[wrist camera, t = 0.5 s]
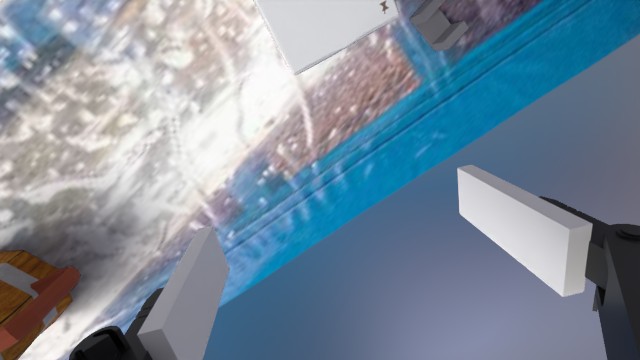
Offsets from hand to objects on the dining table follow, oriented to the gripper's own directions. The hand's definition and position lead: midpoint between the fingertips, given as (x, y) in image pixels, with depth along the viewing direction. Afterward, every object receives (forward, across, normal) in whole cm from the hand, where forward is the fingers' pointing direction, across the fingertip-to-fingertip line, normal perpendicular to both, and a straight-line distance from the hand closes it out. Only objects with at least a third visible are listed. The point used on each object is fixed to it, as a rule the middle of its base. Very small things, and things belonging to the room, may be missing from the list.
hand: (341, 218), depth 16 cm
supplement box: (+24, +2, +13) cm, 28 cm away
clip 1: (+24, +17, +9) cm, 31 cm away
